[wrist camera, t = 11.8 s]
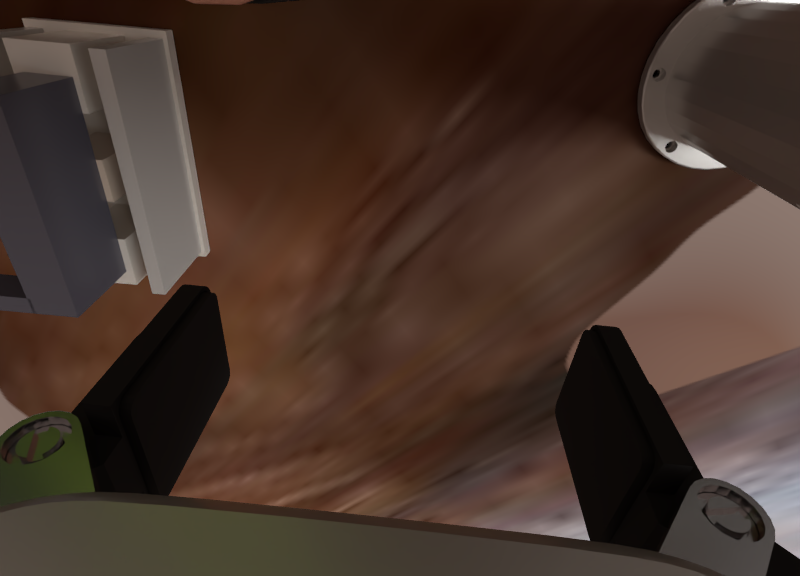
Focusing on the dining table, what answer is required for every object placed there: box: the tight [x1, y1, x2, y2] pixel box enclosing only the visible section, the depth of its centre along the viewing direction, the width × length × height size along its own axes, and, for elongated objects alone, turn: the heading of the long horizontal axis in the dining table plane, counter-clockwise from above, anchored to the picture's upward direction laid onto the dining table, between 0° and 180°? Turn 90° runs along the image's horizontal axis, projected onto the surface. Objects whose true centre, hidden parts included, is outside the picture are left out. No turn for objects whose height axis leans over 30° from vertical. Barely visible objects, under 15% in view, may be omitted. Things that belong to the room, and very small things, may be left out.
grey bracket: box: [0, 72, 127, 317], centre depth 30 cm, size 7×14×6 cm, turn 175°
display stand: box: [0, 17, 210, 294], centre depth 34 cm, size 10×18×8 cm, turn 176°
